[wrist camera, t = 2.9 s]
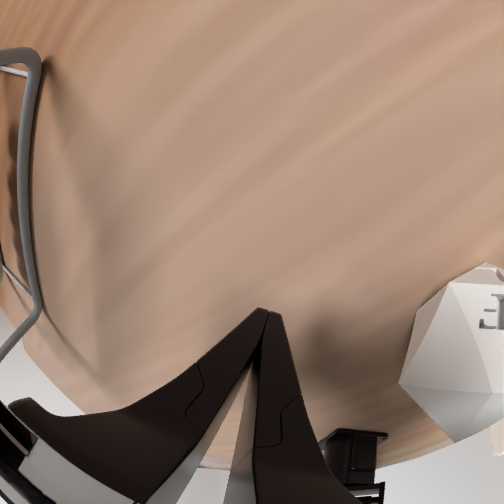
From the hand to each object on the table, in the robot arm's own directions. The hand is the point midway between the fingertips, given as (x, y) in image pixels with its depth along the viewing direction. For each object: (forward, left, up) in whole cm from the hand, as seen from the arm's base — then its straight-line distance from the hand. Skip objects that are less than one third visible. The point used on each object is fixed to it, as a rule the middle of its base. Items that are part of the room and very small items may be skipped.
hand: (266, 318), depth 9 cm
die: (0, -11, -5) cm, 12 cm away
